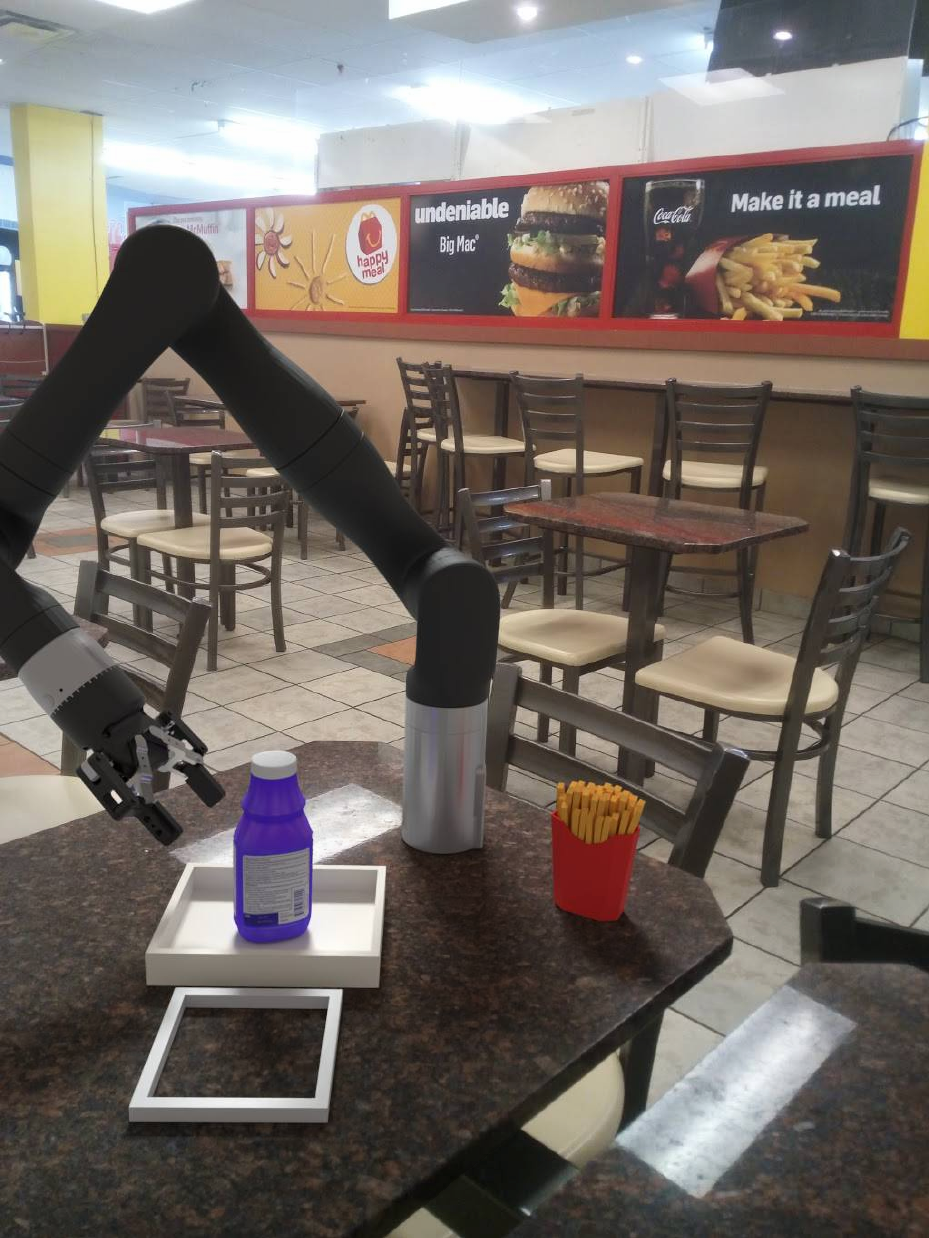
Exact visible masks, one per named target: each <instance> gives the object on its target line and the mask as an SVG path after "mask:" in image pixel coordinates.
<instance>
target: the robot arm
mask: <svg viewBox="0 0 929 1238" xmlns="http://www.w3.org/2000/svg"><path fill="white" fill-rule="evenodd" d="M219 270H220V269H219V266H218V262H217V259H216V258H215V255H214V253H213V251H212V249H211V248H210V246H209V245H208V244H207V242H206V241H205V239H203V238H202V237H201V235H199V234H197V233H196V232H194V230H192V229H189V228H186V227H185V226H182V225H179V224H174V223H170V222H158V223H157V222H156V223H152V224H147V225H144V226H141V227H139V228H138V229H136V230H134V231H133V232H131V234H129V235H128V236H127V237H126V238H125V239H124V241H123V242H122V243H121V245H120V246H119V248H118V250H117V253H116V255H115V259H114V263H113V269H112V270H111V273H110V275H109V277H108V279H107V281H106V283H105V285H104V288H103V289H102V291H101V294H100V296H99V297H98V299H97V301H96V304H95V305H94V308H93V309H92V311H91V313H90V315H89V316H88V317H87V320H86V321H85V323H84V325H82V328H81V329H80V330H79V332H78V333H77V335H76V336H75V338H74V339H73V341H72V342H71V344H70V345H69V346H68V348H67V349H66V350H65V352H64V353H63V354H62V356H61V357H60V359H58V361H57V363H56V364H54V366H53V367H52V369H50V371H49V372H48V373H47V374H46V375H45V377H44V378H43V379H42V380H41V381H40V382H39V384H38V385H37V386H36V387H35V389H34V390H33V391H32V392H31V394H29V396H28V397H27V398H26V400H25V401H24V402H23V403H22V405H20V407H19V408H18V410H17V411H16V412H15V413H14V414H13V416H12V417H11V418H10V420H9V421H8V422H7V424H6V425H5V426H4V427H3V429H2V430H1V432H0V659H2V660H3V661H4V662H5V663H6V665H7V666H8V667H9V668H10V669H11V671H13V673H14V674H15V675H16V676H17V677H18V678H19V680H20V681H21V683H22V684H23V685H24V687H25V689H26V691H27V693H28V694H29V695H30V697H32V699H33V700H34V701H35V702H36V704H38V706H39V707H40V708H41V709H42V710H43V711H44V712H45V713H46V715H48V717H49V719H51V720H52V721H53V722H54V724H55V725H56V726H57V727H58V728H59V729H60V730H61V731H62V732H63V734H64V735H66V737H67V738H68V740H70V742H71V743H72V744H73V745H74V746H75V747H76V748H77V750H79V751H80V752H88V751H92V752H93V753H92V754H90V756H88V757H87V758H86V759H85V760H84V761H83V762H82V763H81V764H80V765H78V767H77V768H76V769H75V774H76V775H77V776H78V778H79V779H80V780H81V782H82V783H83V784H84V785H85V786H86V788H87V789H88V790H89V792H90V793H91V794H92V795H93V796H94V797H95V798H96V800H97V801H98V803H99V804H100V805H101V806H102V807H103V809H104V810H105V811H106V813H108V815H109V816H110V818H112V820H113V821H115V822H120V821H122V820H123V819H124V818H129V817H130V818H132V819H137V820H138V821H139V822H140V823H141V824H142V826H143V827H144V828H145V829H146V830H147V831H148V832H149V833H150V834H151V835H152V836H153V838H154V839H155V840H156V841H157V842H159V843H160V844H162V845H163V846H164V847H169V846H171V845H172V844H173V843H175V841H177V840H178V838H180V837H182V835H183V833H184V828H183V827H182V826H181V824H179V823H178V821H177V820H176V819H175V818H174V816H173V815H171V814H170V812H169V811H168V810H167V809H166V808H165V806H163V804H162V803H161V802H160V801H159V800H157V801H156V799H155V796H154V791H153V788H152V787H153V786H152V785H151V783H152V780H153V777H154V775H153V774H154V773H155V772H156V771H159V772H161V773H167V772H171V773H173V774H175V775H177V776H179V777H181V778H184V779H185V780H184V782H185V783H186V784H187V785H188V786H189V787H190V789H191V790H192V791H193V792H194V793H195V794H196V796H197V797H198V798H199V799H200V800H201V801H202V802H203V804H204V805H205V806H206V807H207V808H213V807H215V806H216V805H217V804H218V803H219V802H221V801H222V800H223V799H224V798H225V797H226V795H227V794H226V790H225V789H224V788H223V786H222V785H221V784H220V783H219V781H217V779H216V778H215V777H214V776H213V774H211V772H210V771H209V770H208V769H207V768H206V767H205V765H204V762H205V760H204V758H205V757H204V756H205V755H206V754H207V753H208V752H209V748H208V746H207V745H206V744H205V743H204V742H203V740H201V739H200V737H199V736H198V735H197V734H196V733H195V732H194V731H193V730H192V728H190V727H189V726H188V724H187V723H185V721H184V720H183V719H182V718H181V717H180V716H179V715H178V714H177V713H176V712H175V711H174V710H173V709H172V708H171V707H169V706H167V707H165V708H164V709H163V710H162V711H160V712H159V713H157V715H155V717H154V718H153V717H152V716H150V715H149V714H148V713H146V711H145V710H144V707H145V706H146V703H147V697H146V695H145V694H144V693H143V692H142V690H140V689H139V687H138V686H137V685H136V684H135V683H134V681H133V680H132V679H131V678H130V677H129V676H128V675H127V674H126V673H125V671H124V670H123V669H122V668H121V667H120V666H119V664H117V662H116V661H115V660H114V659H113V658H112V657H111V656H110V655H109V654H108V652H107V651H106V650H105V649H104V648H103V646H102V645H101V644H100V643H98V641H97V640H95V639H94V638H93V637H91V636H90V634H88V632H86V631H85V630H84V629H83V628H82V627H81V626H80V625H79V623H77V621H76V620H75V619H74V618H73V617H72V616H71V614H70V613H69V612H68V611H67V609H65V608H64V606H63V605H62V604H61V603H60V602H59V601H58V600H57V599H56V598H55V597H54V596H53V595H52V594H50V593H49V592H48V591H47V590H45V589H44V588H41V587H39V586H37V585H35V584H32V583H30V582H28V581H27V580H25V579H24V578H23V577H22V576H21V575H20V574H19V573H18V572H17V571H16V570H17V569H19V567H20V565H21V563H22V562H23V560H24V559H25V556H26V555H27V553H28V551H29V550H30V547H31V545H32V544H33V541H34V539H35V536H36V534H37V533H38V531H39V528H40V526H41V524H42V521H43V518H44V516H45V513H46V511H47V509H48V508H49V507H50V506H51V504H53V502H54V501H55V500H56V499H57V497H58V495H60V494H61V492H62V491H63V489H64V488H65V487H66V485H67V483H68V482H69V481H70V480H71V479H72V477H73V476H74V474H75V473H76V472H77V470H78V469H79V467H80V466H81V464H83V462H84V460H85V459H86V457H87V456H88V455H89V453H90V452H91V450H92V448H93V447H94V445H95V444H96V442H98V439H99V438H100V436H101V435H102V434H103V432H104V430H105V428H106V427H107V425H108V424H109V422H110V421H111V419H112V418H113V417H114V414H115V413H116V412H117V410H118V409H119V407H120V406H121V404H122V403H123V401H124V400H125V398H126V397H127V396H128V394H129V393H130V392H131V391H132V389H133V388H134V387H135V386H136V384H137V383H138V382H139V380H140V379H141V378H142V377H143V376H144V374H145V373H146V372H147V371H148V369H150V367H151V366H152V365H153V364H154V363H155V362H156V360H158V358H160V357H161V355H163V353H164V352H165V351H166V350H168V348H169V349H170V350H172V351H173V352H174V353H175V354H177V356H179V358H181V360H183V361H184V362H185V363H186V364H187V365H189V367H190V368H191V369H193V370H194V372H195V373H197V375H198V376H199V377H201V379H202V380H203V381H204V382H205V383H206V384H207V385H208V386H209V387H210V389H211V390H212V391H213V393H214V394H215V395H216V397H218V399H219V400H220V401H221V403H222V404H223V406H224V408H225V409H226V410H227V411H228V413H229V414H230V416H232V419H234V421H235V422H236V423H237V425H238V426H239V427H240V429H241V430H242V431H243V432H244V434H245V435H246V437H247V438H248V440H250V442H251V443H252V444H253V445H254V447H255V448H256V449H257V450H258V451H259V452H260V454H261V456H263V457H264V458H265V460H266V461H267V462H268V464H270V466H271V467H272V468H273V469H274V470H275V471H276V472H277V473H278V474H279V475H280V476H281V478H283V480H284V481H285V482H286V483H287V484H288V485H289V486H290V488H292V489H293V491H295V492H296V493H297V495H299V497H300V498H301V499H303V500H304V502H305V503H307V504H308V505H309V507H311V508H312V509H313V510H314V511H315V512H316V513H317V514H318V515H320V516H321V517H322V519H324V520H325V521H326V522H327V523H329V525H331V526H332V527H334V528H335V529H336V530H337V531H338V532H339V533H341V534H342V535H344V537H346V538H347V539H348V540H350V542H352V543H353V544H354V545H356V546H357V547H358V548H359V549H360V551H361V552H362V553H363V554H364V555H365V556H366V557H367V558H368V559H369V561H370V562H371V563H372V565H374V567H375V568H376V570H378V572H379V573H380V574H381V576H382V577H383V578H384V579H385V581H386V582H387V584H388V585H389V586H390V588H391V589H392V590H393V592H394V593H395V594H396V597H397V598H398V599H399V600H400V602H401V603H402V604H403V606H404V608H405V610H406V611H407V612H408V613H409V615H410V617H412V619H414V620H415V622H416V639H415V654H414V656H415V657H414V663H413V665H411V666H410V667H409V668H408V670H407V671H406V676H405V703H404V704H405V706H404V711H405V712H404V737H403V738H404V739H403V740H404V741H403V768H402V769H403V770H402V771H403V774H402V775H403V777H402V809H401V810H402V811H401V838H402V840H403V841H404V842H405V843H406V844H407V845H408V846H410V847H412V848H414V849H416V850H418V851H421V852H425V853H430V854H431V853H432V854H438V855H439V854H442V855H444V854H445V855H449V854H456V853H461V852H465V851H468V850H472V849H482V848H483V847H484V824H485V805H486V804H485V803H486V783H487V767H486V762H485V761H486V748H487V747H486V745H487V729H488V728H487V727H488V725H487V723H488V721H487V720H488V706H489V705H488V703H489V688H490V683H491V680H492V679H493V677H494V673H495V672H496V671H495V670H496V666H497V658H498V656H497V655H498V646H499V635H500V623H501V595H500V594H501V593H500V588H499V585H498V582H497V580H496V577H495V576H494V575H493V573H492V572H491V571H490V569H488V568H487V567H486V566H485V565H484V564H482V563H480V562H479V561H477V560H475V559H474V558H473V557H470V556H468V554H465V553H464V552H462V551H460V550H459V549H458V548H456V547H455V546H454V545H452V544H451V543H450V542H449V541H448V540H447V539H445V538H444V537H443V536H442V535H441V534H440V533H439V532H437V530H436V529H435V528H434V527H432V525H431V524H430V523H429V522H427V521H426V519H424V518H423V516H422V515H420V513H419V512H418V511H417V510H416V509H415V507H413V506H412V504H411V503H410V501H409V500H408V499H407V497H406V496H405V495H404V493H403V491H402V489H401V487H400V485H399V484H398V482H397V481H396V478H395V476H394V475H393V473H392V472H391V470H390V468H389V467H388V464H386V462H385V460H384V458H383V457H382V455H381V454H380V453H379V450H378V449H377V448H376V446H375V445H374V443H373V442H372V441H371V439H370V438H369V437H368V436H367V434H365V432H364V431H363V430H362V429H361V427H360V426H359V425H358V424H357V423H356V422H355V420H354V419H353V418H352V416H350V415H349V413H347V411H346V410H345V409H344V408H343V406H341V405H340V403H338V401H337V400H335V398H334V397H333V396H332V395H331V394H330V393H329V392H328V391H327V390H326V389H325V388H324V387H323V386H322V385H320V383H319V382H318V381H316V380H315V379H314V378H313V377H312V376H311V375H310V374H308V373H307V372H306V371H305V370H304V369H303V368H302V367H300V366H299V365H298V364H296V363H295V362H294V361H293V360H292V359H290V358H289V357H288V355H286V354H285V353H283V352H282V351H281V350H280V349H278V348H277V347H276V346H275V345H274V344H272V343H271V342H270V341H269V340H268V339H267V338H266V337H265V336H264V335H263V334H262V333H261V332H260V331H259V330H258V328H257V327H256V326H255V324H253V323H252V321H251V320H250V319H249V318H248V316H247V315H246V313H244V311H243V310H242V308H241V307H240V306H239V304H237V302H236V301H235V299H234V298H233V297H232V295H231V294H230V293H229V291H228V290H227V289H226V288H225V286H224V284H223V283H222V282H221V280H220V279H221V277H220V271H219ZM184 741H186V742H187V743H188V744H189V745H190V746H191V747H192V749H189V748H187V747H186V743H185V742H184ZM179 761H182V763H181V762H179ZM113 791H114V792H115V794H116V795H117V796H118V797H119V799H120V800H121V801H120V802H118V801H117V800H116V799H115V798H114V797H113V795H112V792H113Z"/></svg>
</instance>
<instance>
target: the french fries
mask: <svg viewBox="0 0 929 1238" xmlns="http://www.w3.org/2000/svg"><path fill="white" fill-rule="evenodd" d="M557 783H558V784H557V785H556V805H557V807H556V809H555V810H554V811H553V812H552V813H551V814H550V816H551V817H550V819H551V844H552V845H551V846H552V850H551V851H552V875H553V876H552V877H553V903H555V904H556V906H557V907H559V908H560V909H561V910H563V911H565V912H568V913H572V914H575V915H578V916H582V917H585V918H588V919H593V920H596V921H600V922H609V921H610V922H611V921H618V919H619V918H620V917H621V915H622V914H623V912H624V910H625V906H626V900H627V895H628V891H629V886H630V882H631V881H630V880H631V876H632V870H633V866H634V861H635V857H636V851H637V846H638V843H639V842H638V841H639V837H640V832H641V826H639V822H640V819H641V817H642V814H643V810H644V808H645V805H646V804H647V803H646V800H644V799H642V798H639V797H638V795H634V794H633V793H632V792H631V791H630V790H625V789H624V790H623V791H622V789H623V787H622V786H620V785H618V784H616V785H615V786H612V785H613V783H609V782H605V784H604V785H599V784H598V785H596V783H594V782H591V781H589V782H588V783H587V785H586V781H583V780H578V781H573V780H572V781H571V783H570V784H569V786H568V788H567V791H566V789H565V788H566V787H565V786H566V784H565V782H557ZM638 798H639V800H638Z"/></svg>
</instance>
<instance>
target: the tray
mask: <svg viewBox="0 0 929 1238" xmlns="http://www.w3.org/2000/svg"><path fill="white" fill-rule="evenodd" d="M386 879H387V866H386V865H353V864H352V865H346V864H345V865H343V864H342V865H341V864H339V865H337V864H334V865H333V864H313V872H312V913H311V919H310V922H309V925H308V927H307V929H306V930H305V932H304V933H303V934H301V935H299V936H297V937H294V938H290V939H286V940H281V941H274V942H265V943H255V942H249V941H247V940H245V939H244V938H243V937H242V936H241V935H240V933H239V931H238V928H237V926H236V924H235V921H234V902H233V862H231V863H230V862H229V863H226V862H225V863H223V862H187V864H186V866H185V867H184V870H183V872H182V874H181V877H180V878H179V881H178V883H177V885H176V887H175V889H174V891H173V893H172V896H170V897H171V898H170V900H169V902H168V904H167V906H166V908H165V909H164V910H165V911H164V913H163V915H162V917H161V919H160V921H159V923H158V926H157V928H156V930H155V932H154V934H153V935H152V937H151V940H150V942H149V944H148V946H147V949H146V951H145V953H144V955H145V957H144V958H145V973H146V974H145V975H146V981H145V982H146V986H182V987H183V986H187V987H188V986H192V987H194V986H195V987H198V986H199V987H201V986H202V987H203V986H204V987H208V986H209V987H272V988H273V987H277V988H278V987H283V988H290V987H293V988H295V987H296V988H301V987H302V988H304V987H305V988H360V989H361V988H364V989H365V988H371V989H373V988H375V989H376V988H380V979H381V978H380V976H381V975H380V974H381V962H382V949H383V948H382V946H383V932H384V919H385V918H384V917H385V907H386V906H385V902H386V889H387V888H386V885H387V884H386V882H387V880H386Z"/></svg>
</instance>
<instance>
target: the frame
mask: <svg viewBox="0 0 929 1238" xmlns="http://www.w3.org/2000/svg"><path fill="white" fill-rule="evenodd" d="M343 992H344V990H343V988H339V989H338V988H278V987H277V988H273V987H272V988H270V987H267V988H264V987H263V988H262V987H259V988H258V987H188V986H187V987H183V986H182V987H181V986H179V987H175V988H174V991H173V994H172V997H171V999H170V1001H169V1004H168V1006H167V1009H166V1011H165V1014H164V1017H163V1019H162V1022H161V1023H160V1027H159V1029H158V1032H157V1034H156V1037H155V1039H154V1042H153V1043H152V1047H151V1049H150V1052H149V1055H148V1058H147V1059H146V1063H145V1065H144V1067H143V1069H142V1072H141V1076H140V1077H139V1080H138V1082H137V1085H136V1087H135V1090H134V1092H133V1095H132V1097H131V1101H130V1102H129V1106H128V1122H131V1123H132V1122H135V1123H137V1122H138V1123H140V1122H142V1123H143V1122H144V1123H148V1122H149V1123H151V1122H152V1123H153V1122H154V1123H155V1122H156V1123H158V1122H159V1123H165V1122H166V1123H172V1122H173V1123H176V1122H177V1123H184V1122H185V1123H324V1124H325V1123H328V1121H329V1112H330V1106H331V1105H330V1104H331V1096H332V1090H333V1089H332V1088H333V1080H334V1074H335V1073H334V1072H335V1065H336V1056H337V1049H338V1040H339V1032H340V1026H341V1025H340V1024H341V1017H342V1016H341V1015H342V1008H343V1002H344V1001H343V999H344V997H343V995H344V993H343ZM186 1008H206V1009H207V1008H208V1009H209V1008H211V1009H212V1008H215V1009H216V1008H217V1009H219V1008H220V1009H221V1008H222V1009H224V1008H227V1009H233V1008H234V1009H238V1008H239V1009H303V1010H304V1009H309V1010H310V1009H313V1010H314V1009H321V1010H322V1009H323V1010H324V1009H325V1010H326V1009H327V1015H326V1021H325V1028H324V1034H323V1040H322V1047H321V1052H320V1053H321V1055H320V1060H319V1061H320V1062H319V1068H318V1075H317V1081H316V1082H317V1083H316V1089H315V1095H314V1098H313V1097H311V1098H310V1097H307V1098H306V1097H301V1098H300V1097H298V1098H297V1097H179V1096H178V1097H175V1096H172V1097H167V1096H166V1097H164V1096H163V1097H160V1096H159V1097H158V1096H157V1097H155V1096H154V1095H155V1093H156V1089H157V1087H158V1083H159V1080H160V1078H161V1075H162V1072H163V1070H164V1067H165V1064H166V1062H167V1059H168V1057H169V1054H170V1051H171V1048H172V1046H173V1043H174V1041H175V1037H176V1034H177V1033H178V1029H179V1027H180V1024H181V1021H182V1019H183V1015H184V1012H185V1010H186Z"/></svg>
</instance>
